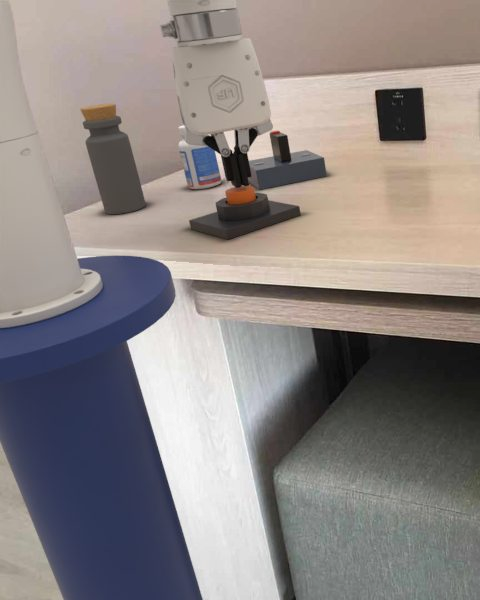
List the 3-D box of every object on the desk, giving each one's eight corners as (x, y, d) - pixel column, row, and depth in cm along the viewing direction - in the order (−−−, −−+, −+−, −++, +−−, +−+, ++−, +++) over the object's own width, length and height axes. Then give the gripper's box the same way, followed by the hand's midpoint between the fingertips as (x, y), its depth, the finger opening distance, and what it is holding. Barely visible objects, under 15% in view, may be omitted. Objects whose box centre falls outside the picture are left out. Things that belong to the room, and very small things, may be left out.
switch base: (228, 239, 81) (222, 215, 80) (190, 229, 87) (185, 206, 86) (301, 215, 88) (297, 192, 87) (261, 206, 94) (257, 185, 93)
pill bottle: (227, 180, 113) (215, 120, 109) (213, 189, 108) (199, 126, 104) (197, 182, 114) (183, 123, 110) (182, 190, 109) (167, 129, 105)
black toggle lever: (291, 160, 107) (287, 133, 105) (281, 162, 106) (277, 135, 104) (283, 156, 111) (278, 130, 109) (273, 158, 110) (269, 131, 109)
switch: (237, 208, 84) (235, 194, 84) (222, 204, 87) (219, 191, 86) (261, 200, 87) (259, 187, 86) (246, 197, 89) (243, 184, 88)
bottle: (96, 215, 100) (66, 110, 94) (121, 203, 105) (94, 104, 99) (130, 214, 98) (101, 107, 92) (154, 202, 103) (128, 101, 97)
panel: (259, 189, 104) (255, 169, 103) (245, 179, 112) (242, 160, 111) (327, 176, 108) (324, 156, 107) (309, 167, 116) (306, 148, 114)
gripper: (144, 38, 73) (185, 203, 80) (278, 21, 78) (305, 178, 85) (138, 38, 79) (176, 191, 87) (262, 23, 84) (288, 168, 92)
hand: (240, 184), depth 86 cm, fingers closed
